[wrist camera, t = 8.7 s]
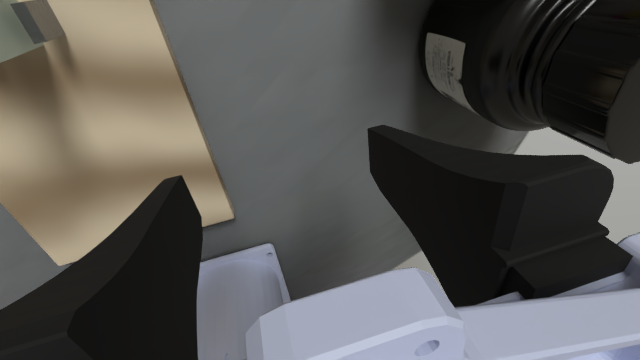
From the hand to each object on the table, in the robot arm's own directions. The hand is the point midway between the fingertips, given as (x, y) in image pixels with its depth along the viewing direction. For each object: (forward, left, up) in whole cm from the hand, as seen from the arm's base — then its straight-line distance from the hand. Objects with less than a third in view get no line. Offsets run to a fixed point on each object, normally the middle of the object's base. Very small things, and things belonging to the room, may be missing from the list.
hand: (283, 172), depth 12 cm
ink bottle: (+1, -15, -10) cm, 18 cm away
